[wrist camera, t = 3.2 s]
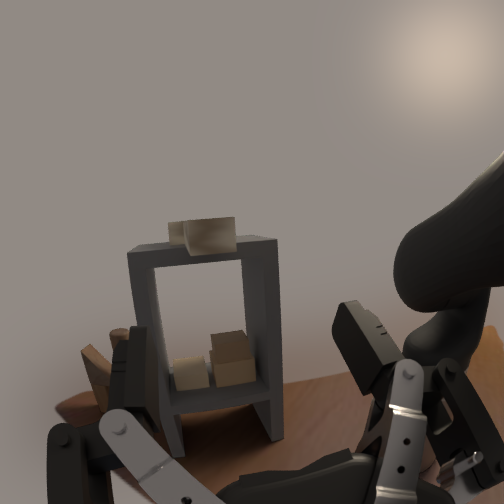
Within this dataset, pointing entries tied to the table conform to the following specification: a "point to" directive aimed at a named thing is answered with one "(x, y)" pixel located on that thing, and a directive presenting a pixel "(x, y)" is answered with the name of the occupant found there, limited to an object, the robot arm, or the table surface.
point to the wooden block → (101, 368)
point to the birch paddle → (204, 235)
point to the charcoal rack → (218, 340)
